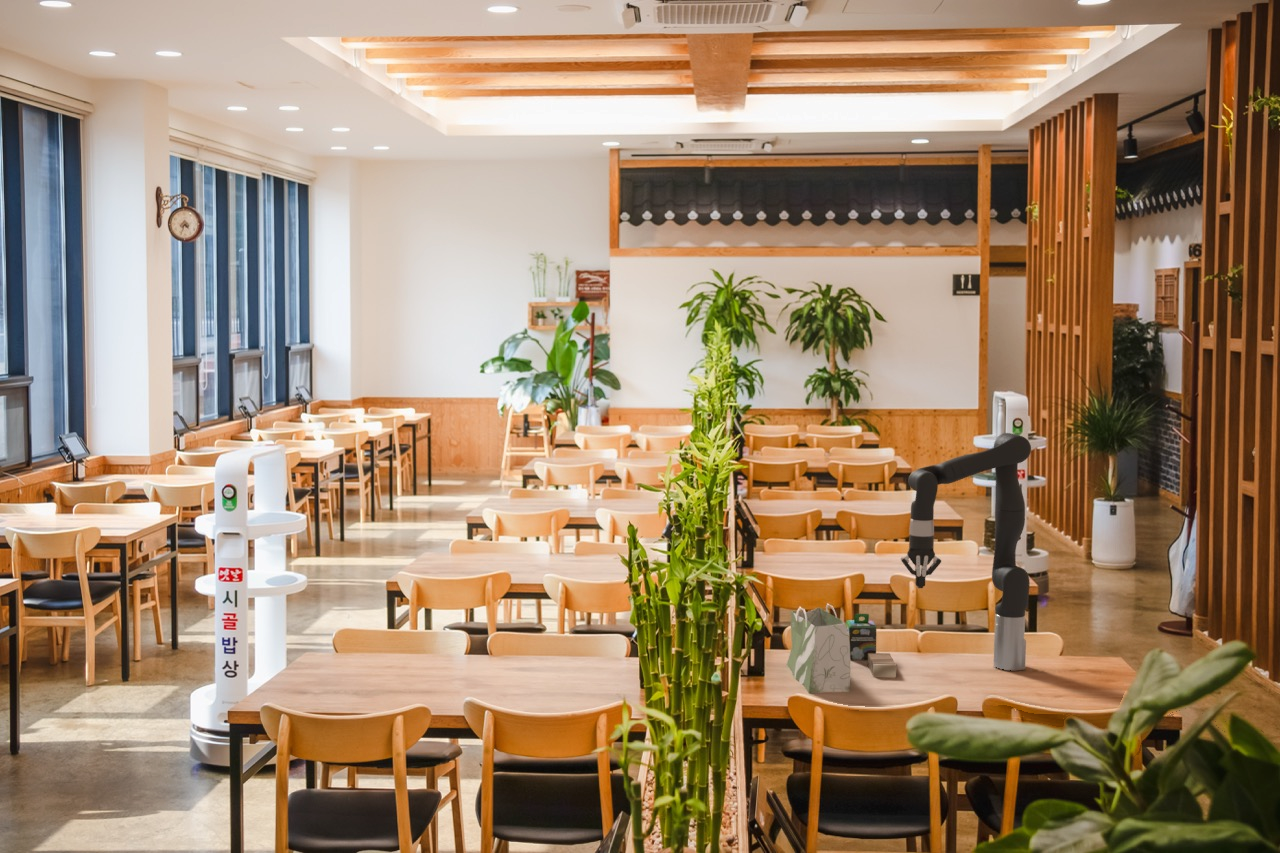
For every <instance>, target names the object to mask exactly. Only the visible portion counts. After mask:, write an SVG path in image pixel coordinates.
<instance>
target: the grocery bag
mask: <svg viewBox="0 0 1280 853" xmlns="http://www.w3.org/2000/svg"><path fill="white" fill-rule="evenodd" d="M829 608H831V610H832V611H833V614H834V615H833V614H831V613H829V610H828V609H829ZM790 635H791V636H790V637H791V649H790V652H789V655H788V659H787V663H786V665H787V667H788V669H789V668H790V669H789V670H790V672H791V673H792V676H793V679H794V680H796V681H797V682H798V683H800V684H801V685H802V686H804V688H805V689H806V692H808V694H816V692H817V694H818V693H819V694H820V693H821V694H822V693H844V692H850V689H851V688H850V684H851V660H850V641H849V637H848V633H847V628H846V622H845V621H843V620H842V619H841V618H839V617H838V615H837V612H836V610H835V608H834V606H833V605H831V604H829V603H826V604H825V609H823V608H821V607H816V608H815V609H812V610H810V611H806V609H805V608H803V607H801V606H799V607H798V608H797V610H790Z"/></svg>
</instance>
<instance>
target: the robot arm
mask: <svg viewBox="0 0 1280 853" xmlns="http://www.w3.org/2000/svg"><path fill="white" fill-rule="evenodd" d="M1031 452H1032V445H1031V443H1030V440H1028V439H1027V438H1026V437H1025V436H1023V435H1020V434H1016V433H1015V434H1014V433H1010V432H1004V433H1001V434H999V435H998V436H997V437H996V439H995V441H994V442H993V447H992V448H990V449H986V450H983V451H979V452H974V453H969V454H963V455H960V456H957V457H953V458H951V459H949V460H948V459H947V460H946V461H944V462H943V461H942V462H940V463H938V464H933V465H928V466H924V467H920V468H918V469H915V470H914V471H912V472H911V473H910V475H909V476H908V479H907V480H908V481H907V482H908V485H909V487H910V488H911V489H912V490H913V491H916V492H915V498H914V500H913V501H912V502H911V505H910V522H909V529H908V532H909V536H908V538H909V539H908V540H909V541H908V542H909V544H908V551H907V553H906V555H905V556H904V557H903V556H902V557H900V561H901V562H902V563H903V565H904V566H905V567H906V569H907V571H909V573H910V574H911V575H913V576H915V582H914V583H915V586H916V587H917V589H923V588H924V587H925V586H926V576H928V575H929V576H930V575H932V574H933V573H934V571H935V570H936V569H937V568H938V567H939V566H940V564H941V563H942V559H941V558H939V557H938V556H936V553H935V550H934V546H935V545H934V544H935V543H934V542H935V540H934V539H935V525H934V524H935V523H934V518H935V516H934V514H935V513H934V509H935V508H934V507H935V503H936V499H937V498H936V497H937V495H938V490H939V488H938V487H939V485H948V484H952V483H955V482H958V481H961V480H963V479H966V478H969V477H971V476H974V475H977V474H980V473H982V472H985V471H989V470H993V469H994V471H995V494H994V495H995V500H994V501H995V502H994V503H995V504H994V527H995V528H994V529H995V530H994V554H993V562H992V571H991V580H992V583H993V586H994V587H995V588H996V589H997V590H998V591H1001V592H1002V598H1001V602H1000V603H999V602H998V603H997V604H996V605H995V610H994V614H995V615H994V642H993V643H994V645H993V646H994V647H993V667H994V666H995V667H994V668H996V667H997V668H996V669H998V668H1000V669H999V670H1002V669H1004V670H1003V671H1010V670H1011V671H1012V672H1013V671H1021V670H1022V671H1023V670H1026V654H1027V651H1026V650H1027V640H1026V638H1025V628H1026V627H1025V626H1026V611H1027V609H1028V605H1029V597H1030V584H1031V583H1030V577H1029V573H1028V571H1027V570H1026V569H1025V568H1022V567H1021V566H1018V565H1017V563H1016V555H1017V554H1016V552H1017V551H1016V550H1017V545H1018V542H1019V540H1020V537H1021V535H1022V533H1023V532H1024V527H1025V524H1026V503H1025V498H1024V494H1023V492H1022V488H1021V486H1020V485H1021V484H1020V483H1019V478H1018V464H1021V463H1023V462H1025V461H1026V460H1027V459H1028V458H1029V457H1030V455H1031ZM910 561H911V563H912V564H914V568H912V566H911V565H910V564H909V563H910ZM930 563H931V565H930V566H929V567H928V565H929V564H930Z"/></svg>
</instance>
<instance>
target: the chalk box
mask: <svg viewBox="0 0 1280 853" xmlns="http://www.w3.org/2000/svg"><path fill="white" fill-rule="evenodd" d="M861 617H862V618H864V619H859V618H861ZM845 624H846V628H847V633H848V637H849V641H850V661H851V660H852V661H854V660H855V661H868V653H877V628H878V627H877V625H876V624H875V621H874V620H873V619H870V615H869V613H854V619H849V620H848V619H847V620H846V621H845Z"/></svg>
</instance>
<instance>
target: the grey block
mask: <svg viewBox="0 0 1280 853" xmlns="http://www.w3.org/2000/svg"><path fill="white" fill-rule="evenodd" d="M867 667H868V669H869V671H870V673H871V675H872V677H873V678H897V664H896V662H895V660H894V658H893V657H892V655H891V653H888V652H887V653H885V652H884V653H883V652H882V653H879V652H876V653H868V660H867Z"/></svg>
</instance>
